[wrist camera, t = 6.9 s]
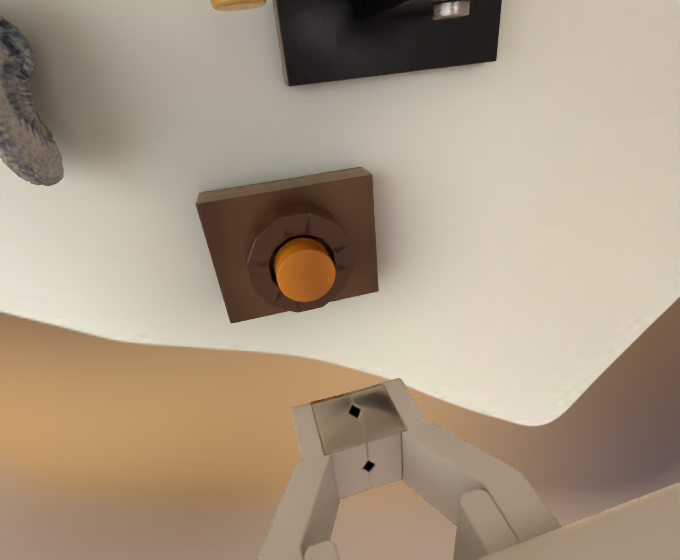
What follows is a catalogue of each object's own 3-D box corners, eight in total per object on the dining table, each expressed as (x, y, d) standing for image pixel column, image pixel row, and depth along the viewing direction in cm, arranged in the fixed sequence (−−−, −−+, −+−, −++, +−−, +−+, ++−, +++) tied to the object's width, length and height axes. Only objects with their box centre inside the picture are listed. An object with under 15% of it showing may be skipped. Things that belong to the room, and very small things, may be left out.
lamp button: (279, 292, 23) (282, 307, 21) (269, 242, 21) (272, 256, 20) (331, 281, 23) (338, 295, 22) (325, 232, 22) (332, 244, 20)
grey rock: (84, 175, 21) (88, 182, 17) (6, 190, 19) (-9, 201, 15) (9, -10, 18) (-8, -55, 14) (-93, -11, 16) (-145, -62, 12)
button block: (230, 306, 27) (230, 341, 23) (198, 192, 23) (192, 215, 19) (369, 276, 28) (388, 305, 25) (361, 166, 24) (383, 182, 21)
